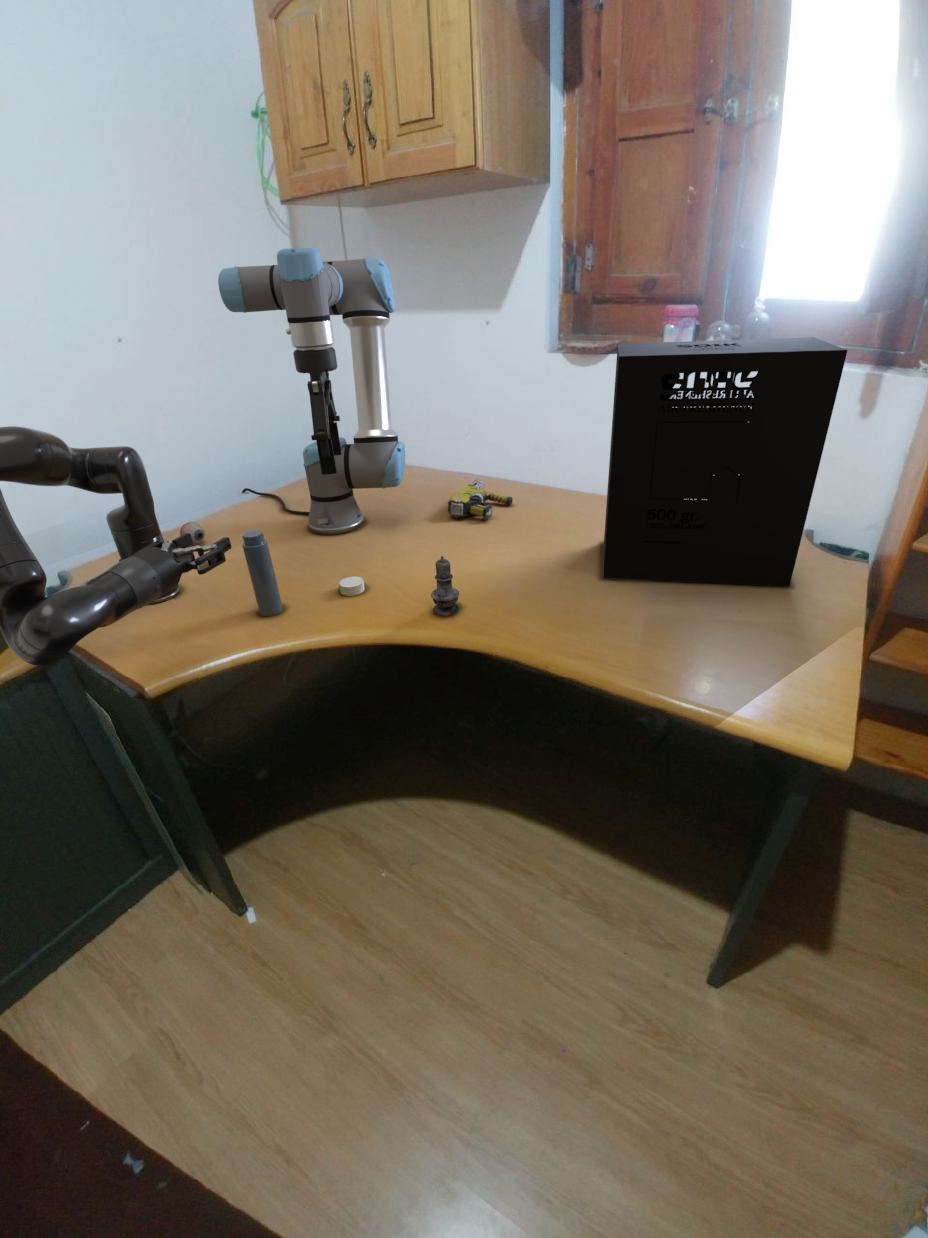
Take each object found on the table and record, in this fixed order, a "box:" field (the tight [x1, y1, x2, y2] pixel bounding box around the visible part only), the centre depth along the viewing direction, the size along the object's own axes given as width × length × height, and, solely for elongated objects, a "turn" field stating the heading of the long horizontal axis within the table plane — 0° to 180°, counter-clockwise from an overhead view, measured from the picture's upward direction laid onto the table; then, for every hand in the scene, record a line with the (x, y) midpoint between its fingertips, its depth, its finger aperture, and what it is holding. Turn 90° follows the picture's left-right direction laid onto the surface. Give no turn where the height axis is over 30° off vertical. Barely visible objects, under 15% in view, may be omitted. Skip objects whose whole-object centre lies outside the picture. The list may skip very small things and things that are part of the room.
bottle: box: [241, 529, 284, 617], centre depth 123 cm, size 5×5×18 cm
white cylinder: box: [338, 575, 366, 597], centre depth 133 cm, size 5×5×2 cm
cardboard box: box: [602, 336, 849, 588], centre depth 126 cm, size 38×20×45 cm, turn 78°
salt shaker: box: [430, 555, 461, 616], centre depth 121 cm, size 6×6×12 cm
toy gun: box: [447, 479, 514, 521], centre depth 175 cm, size 5×24×15 cm
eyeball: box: [179, 521, 206, 546], centre depth 161 cm, size 6×6×6 cm
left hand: (209, 540), depth 108 cm, fingers open, 8 cm apart
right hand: (332, 464), depth 120 cm, fingers open, 13 cm apart
